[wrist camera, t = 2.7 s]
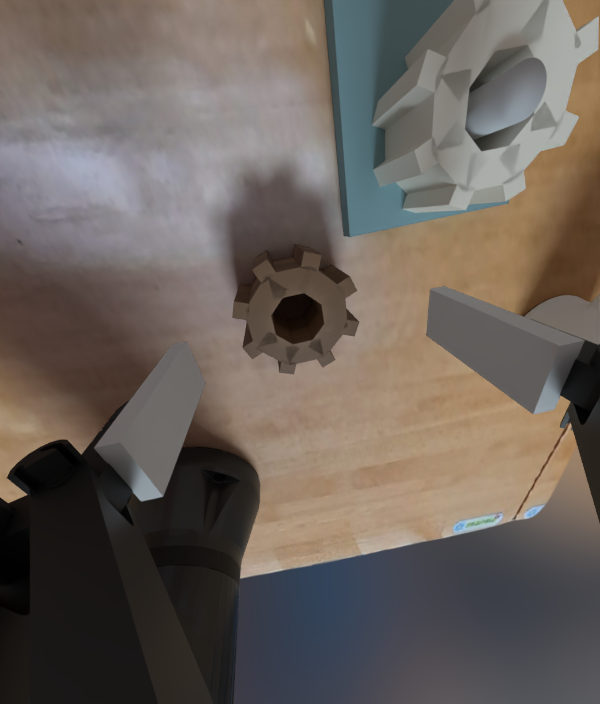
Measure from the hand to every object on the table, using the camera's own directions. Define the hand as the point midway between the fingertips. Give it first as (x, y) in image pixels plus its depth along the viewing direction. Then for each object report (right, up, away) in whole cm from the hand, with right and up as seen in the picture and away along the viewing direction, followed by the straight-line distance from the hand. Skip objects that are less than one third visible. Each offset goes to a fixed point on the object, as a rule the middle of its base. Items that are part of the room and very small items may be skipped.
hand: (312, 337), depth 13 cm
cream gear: (+8, +13, +2) cm, 15 cm away
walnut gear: (-1, +4, +7) cm, 8 cm away
